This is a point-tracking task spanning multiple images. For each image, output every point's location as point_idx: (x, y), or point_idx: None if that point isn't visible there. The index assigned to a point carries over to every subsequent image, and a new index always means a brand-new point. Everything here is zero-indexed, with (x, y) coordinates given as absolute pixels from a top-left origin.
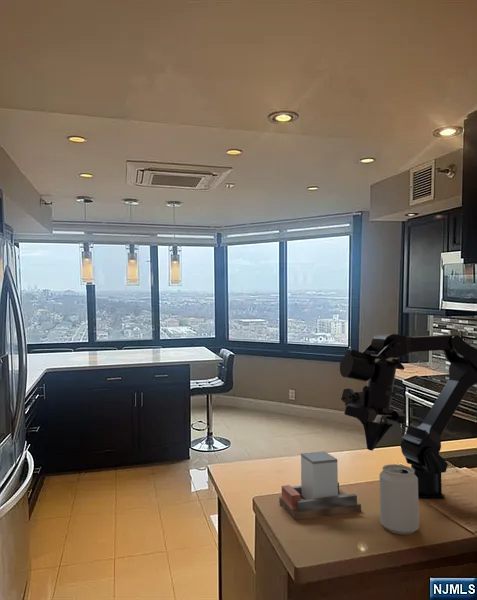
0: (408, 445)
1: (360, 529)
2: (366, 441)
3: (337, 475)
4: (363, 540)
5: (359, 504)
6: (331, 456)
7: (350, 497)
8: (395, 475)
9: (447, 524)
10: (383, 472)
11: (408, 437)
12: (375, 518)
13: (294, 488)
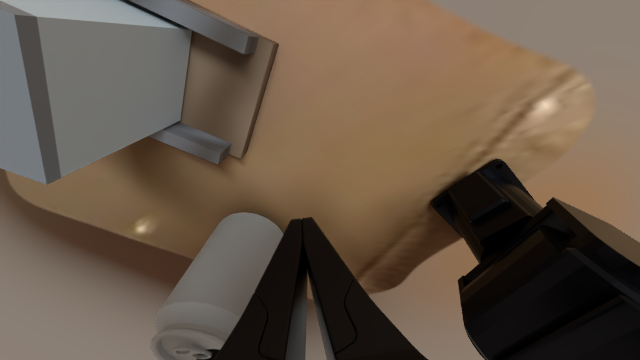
0: (535, 308)
1: (181, 196)
2: (275, 252)
3: (115, 150)
4: (159, 218)
5: (236, 156)
6: (29, 136)
7: (198, 155)
8: (166, 354)
9: None
10: (161, 327)
11: (602, 344)
12: (246, 190)
13: None
